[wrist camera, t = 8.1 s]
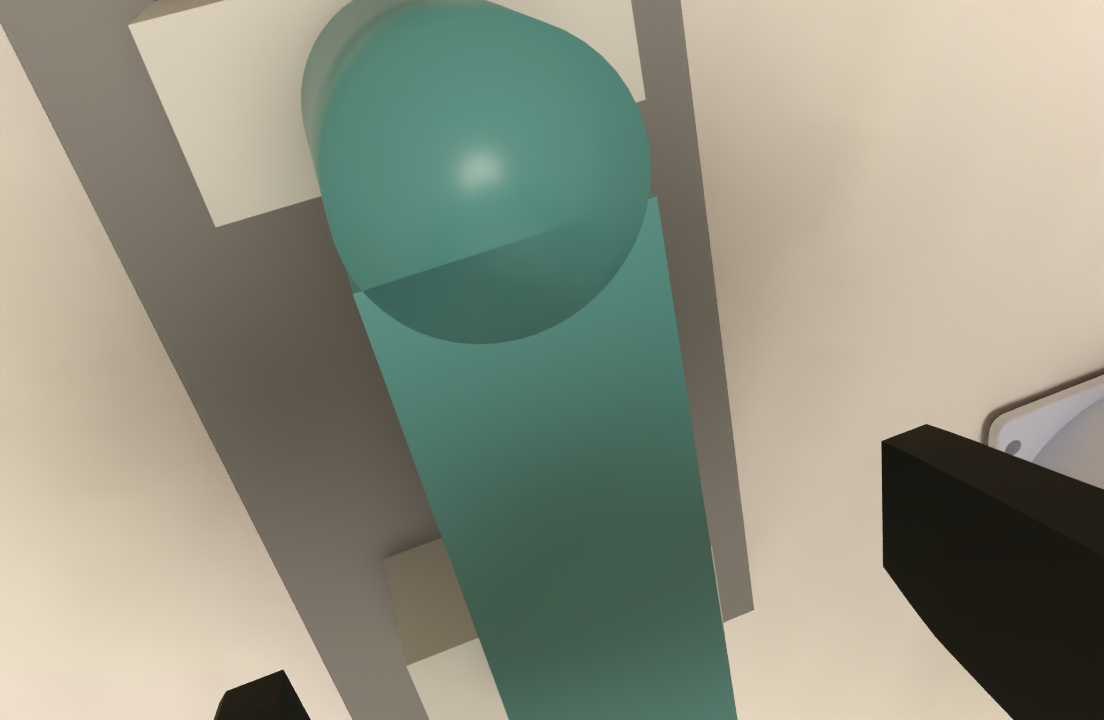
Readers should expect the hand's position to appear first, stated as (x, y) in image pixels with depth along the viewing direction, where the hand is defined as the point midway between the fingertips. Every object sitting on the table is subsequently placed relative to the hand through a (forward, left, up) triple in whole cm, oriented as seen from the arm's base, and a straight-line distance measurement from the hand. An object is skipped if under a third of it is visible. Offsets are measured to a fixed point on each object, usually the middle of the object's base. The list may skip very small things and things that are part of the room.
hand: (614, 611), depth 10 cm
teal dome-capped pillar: (0, 0, -5) cm, 5 cm away
